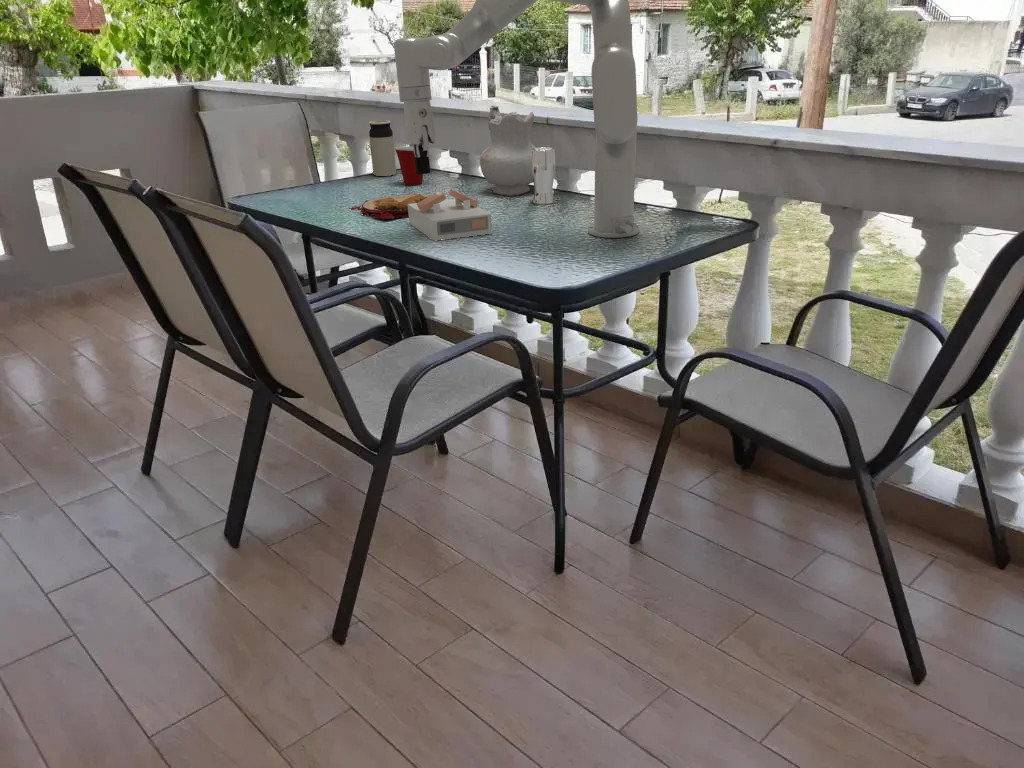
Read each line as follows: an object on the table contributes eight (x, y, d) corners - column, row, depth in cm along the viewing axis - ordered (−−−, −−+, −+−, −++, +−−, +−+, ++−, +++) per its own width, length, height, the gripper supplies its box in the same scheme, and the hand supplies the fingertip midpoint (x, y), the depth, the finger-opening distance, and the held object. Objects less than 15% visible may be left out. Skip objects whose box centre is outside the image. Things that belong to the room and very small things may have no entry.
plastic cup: (436, 182, 262) (434, 145, 257) (416, 188, 254) (413, 149, 249) (411, 180, 268) (408, 143, 263) (390, 185, 259) (387, 147, 254)
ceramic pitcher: (464, 194, 248) (455, 112, 236) (508, 180, 259) (502, 101, 248) (513, 204, 234) (506, 116, 222) (557, 188, 245) (553, 104, 234)
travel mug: (398, 173, 281) (394, 120, 273) (392, 177, 274) (387, 122, 266) (377, 173, 282) (371, 120, 275) (370, 177, 275) (365, 123, 267)
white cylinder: (556, 199, 232) (555, 146, 225) (554, 204, 225) (554, 150, 219) (532, 199, 232) (531, 147, 226) (530, 204, 226) (529, 150, 220)
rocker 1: (447, 201, 197) (444, 193, 196) (425, 214, 196) (421, 207, 195) (441, 197, 202) (437, 190, 201) (419, 209, 201) (415, 203, 200)
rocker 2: (476, 209, 201) (479, 201, 200) (453, 199, 197) (457, 191, 197) (469, 205, 205) (472, 197, 205) (447, 195, 202) (450, 188, 202)
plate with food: (463, 209, 227) (463, 196, 225) (384, 222, 211) (383, 209, 210) (416, 199, 244) (415, 187, 243) (339, 210, 229) (338, 198, 227)
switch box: (492, 234, 196) (491, 205, 193) (434, 241, 191) (432, 211, 188) (462, 216, 215) (461, 189, 212) (409, 223, 209) (406, 195, 206)
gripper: (440, 94, 182) (447, 175, 189) (421, 91, 194) (428, 167, 202) (408, 97, 179) (417, 179, 187) (391, 94, 192) (400, 171, 200)
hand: (423, 173), depth 194 cm, fingers closed
